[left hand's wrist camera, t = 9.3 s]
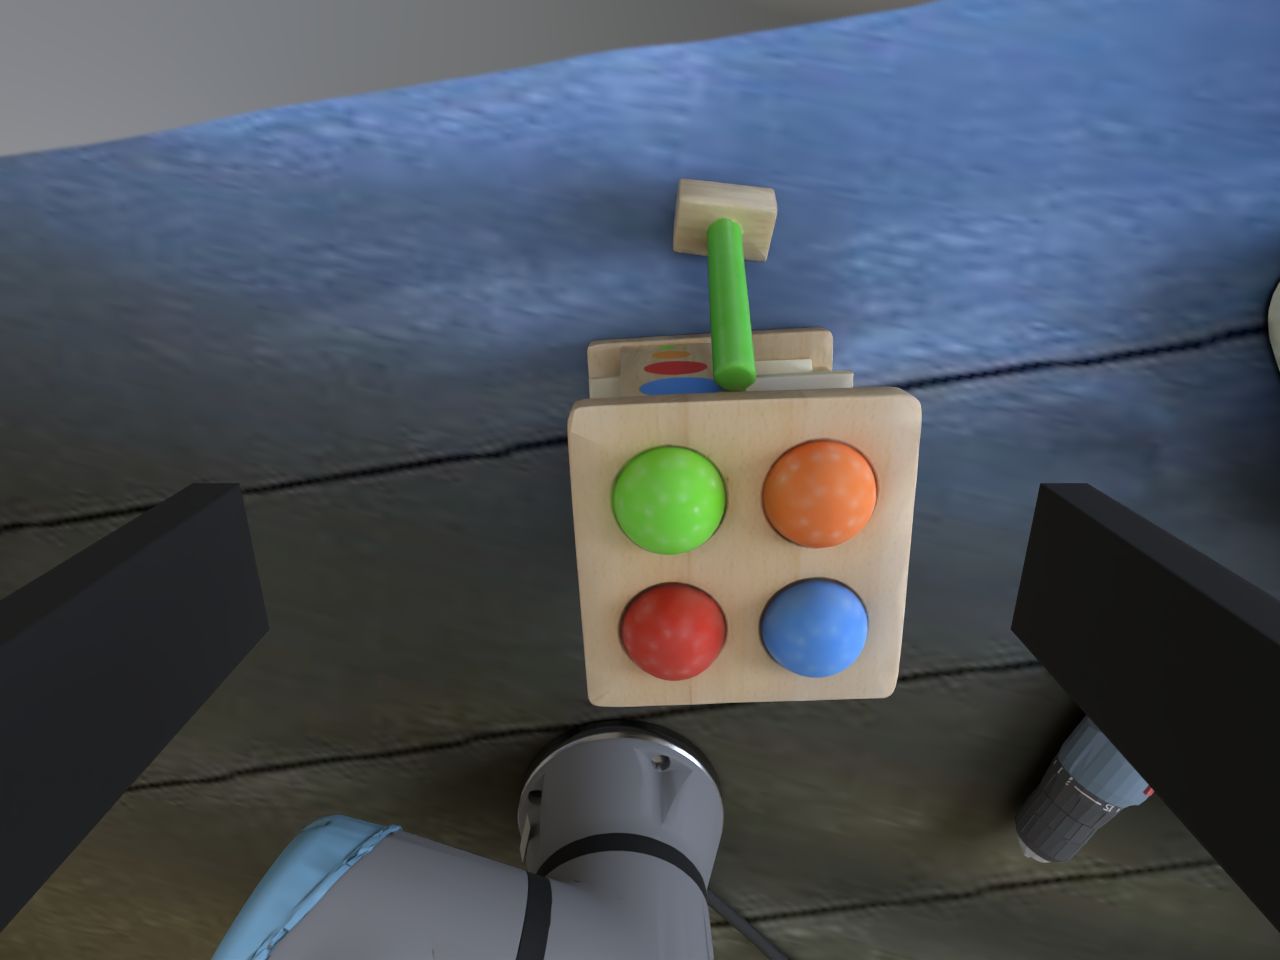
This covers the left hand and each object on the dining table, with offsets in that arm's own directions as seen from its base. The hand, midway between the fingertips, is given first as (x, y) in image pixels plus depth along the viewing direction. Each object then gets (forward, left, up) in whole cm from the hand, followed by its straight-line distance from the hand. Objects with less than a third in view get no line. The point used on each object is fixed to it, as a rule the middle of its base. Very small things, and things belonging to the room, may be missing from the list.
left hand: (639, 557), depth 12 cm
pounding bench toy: (-6, -2, -33) cm, 33 cm away
